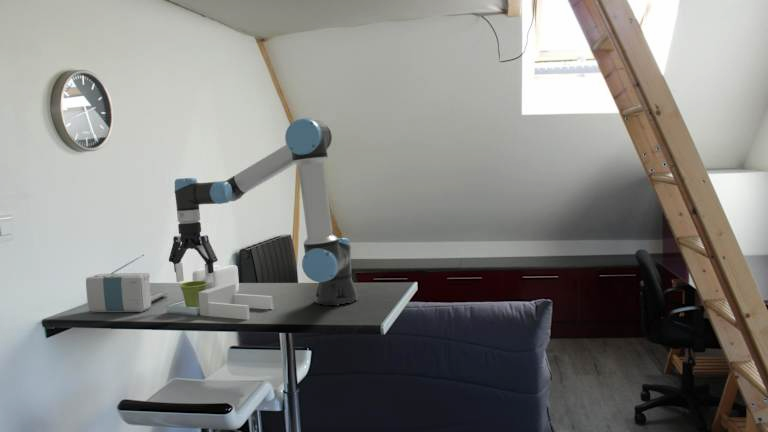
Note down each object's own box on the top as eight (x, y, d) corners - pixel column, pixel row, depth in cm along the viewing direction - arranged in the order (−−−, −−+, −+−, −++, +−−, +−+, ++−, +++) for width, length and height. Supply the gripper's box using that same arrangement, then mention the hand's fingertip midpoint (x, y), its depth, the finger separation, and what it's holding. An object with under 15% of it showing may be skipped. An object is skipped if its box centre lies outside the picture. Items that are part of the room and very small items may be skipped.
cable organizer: (215, 302, 219) (213, 271, 218) (192, 300, 223) (190, 270, 222) (239, 293, 233) (238, 264, 232) (218, 291, 237) (216, 263, 236)
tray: (223, 306, 211) (222, 299, 211) (196, 315, 199) (196, 308, 199) (194, 304, 217) (194, 297, 217) (167, 313, 205) (166, 306, 205)
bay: (273, 308, 204) (272, 286, 204) (247, 319, 191) (245, 295, 191) (227, 305, 213) (226, 283, 212) (200, 315, 200) (198, 292, 199)
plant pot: (204, 310, 203) (203, 285, 202) (177, 311, 203) (175, 287, 202) (212, 303, 212) (210, 280, 211) (186, 304, 212) (184, 281, 211)
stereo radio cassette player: (87, 314, 209) (82, 258, 207) (101, 308, 217) (96, 254, 215) (142, 313, 206) (137, 257, 204) (154, 307, 214) (150, 253, 212)
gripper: (154, 223, 207) (160, 283, 209) (209, 222, 196) (215, 285, 198) (170, 221, 214) (176, 278, 216) (224, 220, 203) (229, 280, 205)
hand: (194, 282), depth 207 cm, fingers open, 13 cm apart
